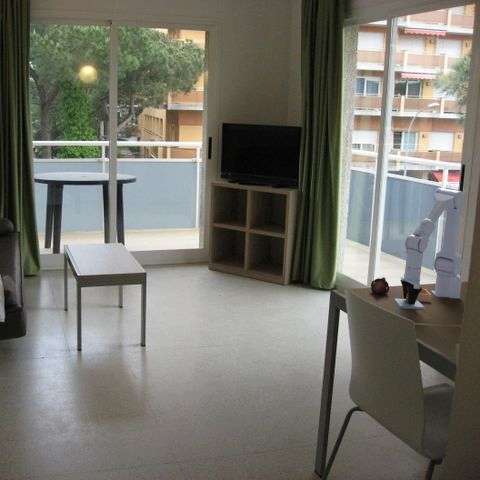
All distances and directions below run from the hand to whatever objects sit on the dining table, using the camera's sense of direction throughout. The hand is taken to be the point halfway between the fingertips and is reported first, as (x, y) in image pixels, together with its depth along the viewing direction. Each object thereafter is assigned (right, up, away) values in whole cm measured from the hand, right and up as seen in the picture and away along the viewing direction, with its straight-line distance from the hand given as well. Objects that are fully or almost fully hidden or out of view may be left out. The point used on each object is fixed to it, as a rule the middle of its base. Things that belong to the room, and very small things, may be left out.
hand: (409, 301), depth 258 cm
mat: (0, -2, 0) cm, 2 cm away
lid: (0, -1, 0) cm, 1 cm away
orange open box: (+6, 0, +9) cm, 11 cm away
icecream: (-9, +1, +13) cm, 16 cm away
